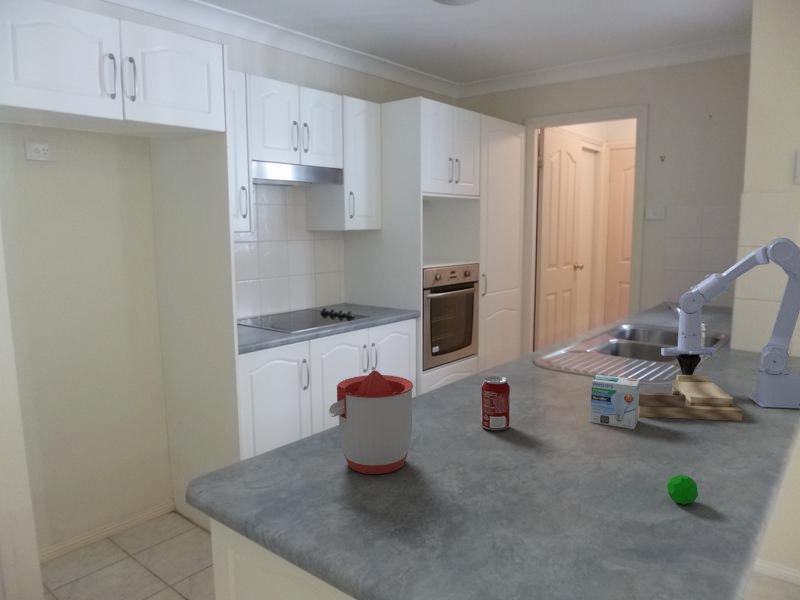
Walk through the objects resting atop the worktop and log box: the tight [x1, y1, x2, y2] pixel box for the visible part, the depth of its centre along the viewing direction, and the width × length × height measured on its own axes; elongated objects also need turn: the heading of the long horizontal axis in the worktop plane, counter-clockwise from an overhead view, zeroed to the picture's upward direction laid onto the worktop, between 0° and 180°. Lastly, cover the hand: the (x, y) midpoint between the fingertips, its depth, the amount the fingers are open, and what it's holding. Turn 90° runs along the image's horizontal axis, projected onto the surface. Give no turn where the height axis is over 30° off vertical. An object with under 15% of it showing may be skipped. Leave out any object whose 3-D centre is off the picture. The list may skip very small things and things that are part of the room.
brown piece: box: [638, 385, 743, 422], centre depth 156 cm, size 24×19×3 cm
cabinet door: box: [639, 391, 686, 408], centre depth 148 cm, size 11×2×4 cm, turn 81°
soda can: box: [480, 375, 511, 432], centre depth 141 cm, size 7×7×12 cm
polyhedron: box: [666, 474, 699, 505], centre depth 104 cm, size 5×5×5 cm
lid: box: [671, 374, 734, 405], centre depth 156 cm, size 10×16×3 cm, turn 171°
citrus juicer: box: [328, 369, 414, 475], centre depth 120 cm, size 16×17×20 cm
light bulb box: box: [589, 374, 641, 430], centre depth 144 cm, size 11×7×11 cm, turn 62°
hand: (686, 380), depth 168 cm, fingers closed
